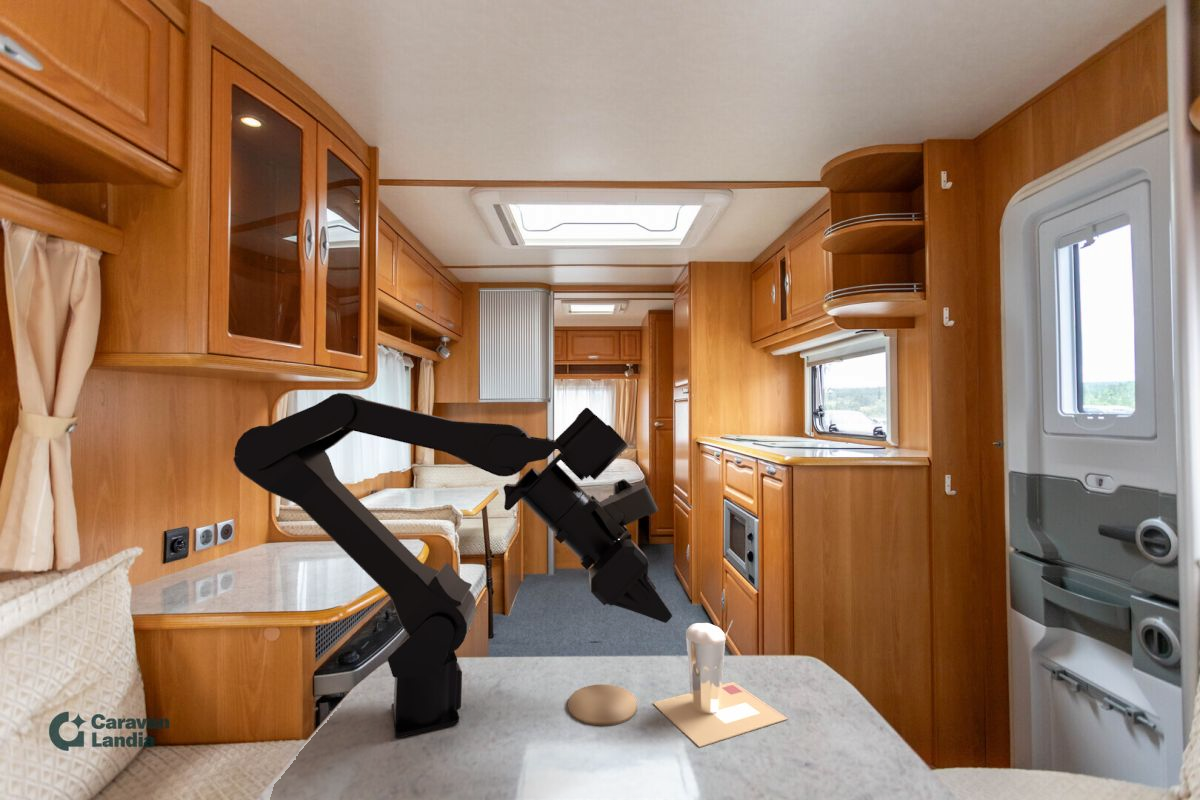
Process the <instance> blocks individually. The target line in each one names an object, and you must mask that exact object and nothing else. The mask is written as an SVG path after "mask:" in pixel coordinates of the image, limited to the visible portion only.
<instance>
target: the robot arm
mask: <svg viewBox="0 0 1200 800" xmlns="http://www.w3.org/2000/svg"><path fill="white" fill-rule="evenodd" d="M352 432H357V433H361V434H362V433H363V434H365V435H371V436H374V437H378V438H384V439H387V440H388V439H389V440H392V441H396V442H401V443H405V444H409V445H414V446H417V447H421V448H427V449H430V450H435V451H439V452H444V453H446V454H447V455H451V456H453V457H455V458H457V459H459V460H461V461H463V462H465V463H467V464H469V465H471V466H473V467H476V468H478V469H481V470H483V471H485V472H488V473H490V474H492V475H494V476H498V477H511V476H513V475H516V474H517V473H519V472H521V471H522V470H524V469H525V467H527V465H528V464H529V463H533V462H539V461H544V460H546V459H548V458H549V456H551V455H552V454H553V452H555V450H557V451H558V452H559V453H558V454H557V455H556V456H555V457H554V458H553V459H551V461H550V462H549V463H548V464H547V465H546V466H545V467H544V468H543V469H542V470H540V471H538V469H536V468H534V467H531V468H530V469H529V470H527V472H526V473H525V474H524V475H523V476H522V477H521V478H520V479H519V480H518V481H517V482H516V483H506V484H505V485H503V492H504V505H503V509H504V510H506V511H510V510H511V509H513V507H515V505H516V504H517V503H518V502H519V501H522V502H523V503H524V504H525V505H526V506H527V507H528V508H529V509H530V510H531V511H532V512H533V513H534V514H535V515H536V516H537V517H538V518H539V519H540V520H541V521H542V523H544V524H545V525H546V526H547V527H548V528H549V529H550V530H551V531H552V532H553V533H554V539H556V540H557V541H558V543H560V544H562V543H563V544H564V545H566V546H567V548H569V550H571V552H572V553H574V555H575V556H576V557H578V559H579V563H580V564H581V566H582V567H583V568H584V569H585V570H586V571H588V570H589V571H588V583H589V589H590V593H591V594H592V595H593V596H594V597H595V598H596V599H597V600H598V601H599V602H600V603H601V604H602V605H603V606H606V605H608V606H610V607H612V606H614V607H617V608H618V607H619V608H622V609H624V610H627V611H631V612H633V613H634V612H635V613H637V614H640V615H642V616H645V617H647V618H651V619H653V620H656V621H659V622H662V623H665V624H666V623H668V622H669V621H670V620H671V619H672V618H673V614H672V613H671V611H670V610H669V608H668V606H667V605H666V603H665V602H664V600H663V599H662V598H661V597H660V594H659V593H658V592H657V590H656V589H657V588H656V586H655V585H654V584H655V583H653V582H652V580H651V579H650V576H649V575H648V573H649V567H650V561H649V559H648V557H647V556H646V554H645V553H644V552H643V551H642V549H640V547H639V546H638V545H637V544H636V543H635V542H634V541H633V539H632V534H631V533H630V531H629V530H628V528H627V525H629V524H631V523H633V522H635V521H638V520H639V519H641V518H644V517H645V516H648V517H650V516H652V515H654V514H656V513H657V512H658V511H659V508H658V507H657V504H656V501H655V499H654V497H653V495H652V493H651V491H650V488H649V487H648V485H647V484H646V483H645V482H644V481H641V482H638V481H637V482H635V483H634V484H631V483H630V482H628V480H626V479H624V478H623V479H620V480H619V481H616V482H614V483H613V491H612V492H613V493H612V494H611V495H610V494H609V495H608V497H607V498H605V499H603V500H601V501H599V500H598V499H597V498H596V497H595V496H594V495H593V494H592V495H590V494H587V493H586V492H585V491H584V490H583V488H581V487H580V486H579V484H577V483H576V482H575V480H574V479H572V477H570V476H569V475H568V473H567V472H566V471H565V470H563V469H562V468H561V466H560V465H559V464H558V463H559V462H560V461H561V462H563V464H564V465H565V466H566V467H567V468H568V469H569V470H570V471H571V472H572V473H573V474H574V475H575V476H576V477H577V478H578V479H579V480H580V481H583V480H584V479H588V478H589V477H590V478H592V479H593V480H594V481H595V480H596V479H598V478H599V476H601V475H602V473H604V472H605V470H607V468H608V467H610V465H612V464H613V463H614V461H616V459H617V458H618V457H619V456H620V455H621V454H622V453H623V452H624V451H626V449H627V448H628V447H629V445H628V444H627V443H626V441H625V440H624V439H623V437H621V435H620V434H618V432H617V431H616V430H615V429H614V428H613V427H612V426H611V425H610V424H606V423H605V422H604V421H603V419H601V418H600V417H598V416H597V415H596V414H595V413H594V412H593V411H592V410H591V409H590V408H589V407H585V408H583V409H582V411H581V412H579V413H578V415H577V417H576V418H575V420H574V421H573V422H572V423H571V424H570V425H569V426H568V427H567V428H566V429H565V430H564V431H562V433H561V434H559V436H558V437H556V439H551V438H550V437H549V436H546V437H545V438H542V437H535V436H530V434H529V433H528V432H527V430H525V429H524V428H523V427H520V426H519V425H514V424H503V423H487V422H475V421H474V422H472V421H471V422H470V421H457V420H452V419H449V418H445V417H440V416H437V415H432V414H428V413H423V412H419V411H416V410H412V409H406V408H402V407H398V406H393V405H390V404H387V403H386V404H385V403H382V402H381V403H380V402H376V401H372V400H369V399H366V398H364V397H362V396H360V395H356V394H349V393H345V392H338V393H334V394H332V395H330V396H329V397H327V398H325V399H323V400H322V401H320V402H318V403H316V404H315V405H312V406H311V407H307V408H305V409H303V410H300V411H297V412H296V413H293V414H291V415H288V416H285V417H283V418H282V419H280V420H279V419H278V420H277V421H276V422H274V423H272V424H271V425H258V426H255V427H251V428H249V430H246V431H245V432H244V433H243V434H242V435H241V436H240V437H239V438H238V440H237V442H236V445H235V448H234V456H233V458H232V460H233V463H234V465H235V467H236V469H237V470H238V472H239V473H241V475H243V476H245V477H246V478H248V479H249V480H250V481H252V482H253V483H255V484H256V485H257V486H259V487H260V488H262V489H263V490H265V491H266V492H269V493H271V494H273V495H275V496H277V497H280V498H283V499H285V500H287V501H289V502H291V503H294V504H296V506H299V507H300V508H301V509H302V511H304V512H305V513H306V514H307V515H308V517H310V518H311V519H312V520H313V521H314V523H316V524H317V525H318V526H319V527H320V528H321V530H323V531H324V532H325V533H326V534H327V535H328V536H329V537H330V538H331V539H332V540H333V541H334V543H336V544H337V545H338V546H339V547H340V548H341V550H343V552H345V553H346V554H347V555H348V556H349V557H350V558H351V559H352V560H353V561H354V562H355V563H356V564H357V565H358V566H359V568H361V569H362V571H364V572H365V573H366V574H367V575H368V576H369V577H370V578H371V579H372V580H373V581H374V583H376V584H377V585H378V586H379V587H380V588H381V589H382V590H383V591H384V592H385V593H386V594H387V595H388V597H389V598H390V600H391V602H392V604H393V608H394V611H395V613H396V615H397V618H398V621H399V623H400V625H401V627H402V628H403V630H404V631H405V634H404V636H403V637H402V638H401V640H400V641H399V642H398V644H397V645H396V646H395V648H394V649H393V651H392V652H391V653H390V654H389V656H388V657H387V663H388V666H389V669H390V672H391V674H392V677H393V678H394V682H393V683H394V689H393V703H392V704H391V718H392V727H393V736H394V738H398V739H399V738H403V737H408V736H411V735H412V736H413V735H417V734H420V733H425V732H429V731H435V730H437V729H441V728H447V727H450V726H451V727H452V726H454V725H458V724H459V723H460V715H459V713H458V710H461V707H462V693H463V692H462V690H463V689H462V686H463V671H462V668H461V666H460V663H459V662H458V657H457V655H456V652H455V651H456V650H459V648H460V647H461V645H462V644H463V642H464V641H465V639H466V637H467V635H468V633H469V631H470V628H471V626H472V623H473V622H474V619H475V616H476V612H477V610H476V609H477V601H476V598H475V596H474V595H473V593H472V592H471V591H470V590H471V588H472V586H473V584H472V583H470V582H467V581H465V580H464V579H463V578H461V577H460V576H459V574H458V573H457V571H456V570H455V568H453V566H452V565H451V564H450V563H449V562H446V563H445V564H444V565H443V566H442V567H441V568H440V569H439V570H437V569H435V568H432V567H430V566H428V565H426V564H424V563H423V562H421V561H420V559H418V557H416V556H415V555H414V554H413V552H412V551H410V550H409V549H408V548H407V547H406V546H405V545H404V544H403V543H402V541H400V540H399V539H398V538H397V537H396V536H395V535H394V534H393V533H392V532H391V530H389V528H387V527H386V526H385V524H383V523H382V522H381V521H380V520H379V518H377V517H376V515H374V514H373V513H372V512H371V511H370V510H369V509H368V507H367V506H365V505H364V504H363V503H362V502H361V500H359V499H358V498H357V497H356V496H355V495H354V494H353V493H352V492H351V491H350V489H348V488H347V487H346V486H345V485H344V484H343V483H342V482H341V480H339V479H338V477H337V475H336V473H335V470H334V467H333V465H332V462H331V460H330V459H331V458H329V455H328V453H327V452H326V451H328V450H330V449H331V448H332V447H334V446H335V445H337V444H338V443H339V442H340V441H342V440H343V439H345V437H346V436H348V435H350V434H351V433H352Z"/></svg>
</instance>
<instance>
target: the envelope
mask: <svg viewBox="0 0 1200 800" xmlns="http://www.w3.org/2000/svg"><path fill="white" fill-rule="evenodd" d="M652 704H653V705H654V706H655V707H656V709H658V710H659V711H660V712H661V713H662V714H663V715H664V716H665V717H666V718H667V719H668V720H669V721H671V722H672V724H673V725H675V727H677V728H678V729H679V730H680V731H681V732H682V733H683V734H684V735H685V736H687V737H688V739H690V741H691V742H693V743H694V744H695V745H696V746H697V747H698V748H702V747H705V746H709V745H711V744H714V743H715V744H716V743H718V742H722V741H724V740H727V739H730V738H734V737H737V736H740V735H744V734H747V733H750V732H753V731H755V730H759V729H762V728H765V727H768V726H772V725H775V724H777V723H781V722H784V721H788V718H787V717H786V716H785V715H783V714H782V713H780V712H779V711H777V710H775V708H773V707H771V706H770V705H768V704H767V703H765V702H764V701H763V700H761V699H759V698H758V697H756V696H755V695H754V694H752V693H750V692H749V691H748V690H746V689H745V688H744V687H742V686H740V685H739V684H738V683H736V682H734V681H731V682H727V683H722V691H721V705H720V709H719V710H718V712H716V713H712V714H706V713H701V712H699V711H697V710H695V709H694V708H693V706H692V705H691V694H690V692H689V693H684V694H681V695H677V696H673V697H672V696H671V697H669V698H664V699H661V700H657V701H654V702H652Z"/></svg>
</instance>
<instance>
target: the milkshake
mask: <svg viewBox="0 0 1200 800" xmlns="http://www.w3.org/2000/svg"><path fill="white" fill-rule="evenodd" d="M733 622H734V620H733V619H731V621H730V623H729V626H728V627H727V628H728V629H727V630H726V633H725V632H724V631H723V630H722V629H721V628H720V627H719V626H717V625H714V624H712V623H709V622H697V623H696V622H695V623H692V624H691V625H690V626H689V627H688V628H687V629H686V632H685V639H686V649H687V660H688V661H687V662H688V664H687V665H688V675H689V689H690V690H689V691H690V692H689V693H690V694H691V705H692V706H693V708H694V709H695V710H697V711H699V712H701V713H706V714H712V713H716V712H718V710H719V709H720V705H721V691H722V685H723V675H724V673H723V671H724V659H725V649H726V639H727V635H728V633H729V631H730V628H731V626H732V624H733Z"/></svg>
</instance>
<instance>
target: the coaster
mask: <svg viewBox="0 0 1200 800" xmlns="http://www.w3.org/2000/svg"><path fill="white" fill-rule="evenodd" d="M567 703H568V704H567V706H568V711H569V712H570V714H571V715H572V716H573V717H574V718H575V719H577V720H578V721H580V722H582V723H585V724H589V725H593V726H600V727H601V726H604V727H605V726H616V725H619V724H622V723H625V722H627V721H629V720H631V719H632V718H633V717H634V716H635V715H636V713H637V711H638V700H637V697H636V696H635V695H634V694H633V693H632V692H631V691H630V690H628V689H625V688H624V687H620V686H617V685H613V684H602V683H601V684H591V685H587V686H583V687H581V688H579V689H577V690H575V691H574V692H573V693H571V695H570V696H569V698H568V702H567Z"/></svg>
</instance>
